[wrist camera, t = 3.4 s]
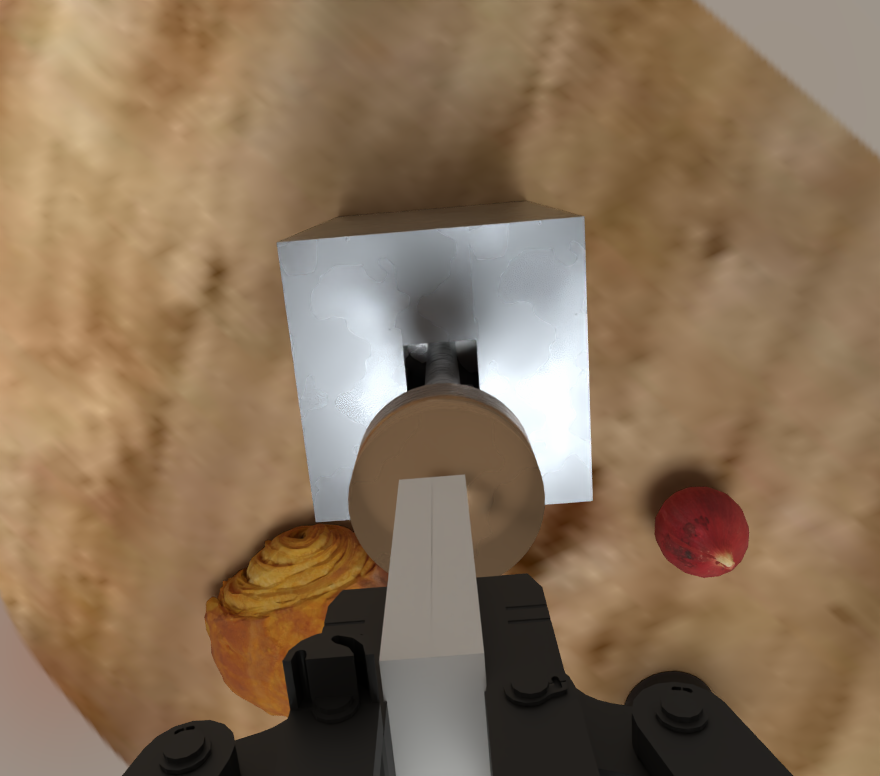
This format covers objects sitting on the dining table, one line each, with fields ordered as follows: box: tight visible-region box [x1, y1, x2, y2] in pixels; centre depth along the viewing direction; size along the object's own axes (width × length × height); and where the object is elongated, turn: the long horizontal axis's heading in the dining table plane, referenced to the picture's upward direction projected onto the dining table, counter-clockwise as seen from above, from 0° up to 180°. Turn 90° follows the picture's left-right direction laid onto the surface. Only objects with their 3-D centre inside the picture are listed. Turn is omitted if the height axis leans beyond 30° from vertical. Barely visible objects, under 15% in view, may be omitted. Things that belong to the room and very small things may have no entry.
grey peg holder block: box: [277, 201, 593, 522], centre depth 40 cm, size 12×12×19 cm
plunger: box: [348, 339, 545, 578], centre depth 29 cm, size 9×9×20 cm
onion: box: [655, 487, 749, 578], centre depth 49 cm, size 6×6×8 cm
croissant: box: [205, 524, 389, 717], centre depth 52 cm, size 14×16×8 cm
